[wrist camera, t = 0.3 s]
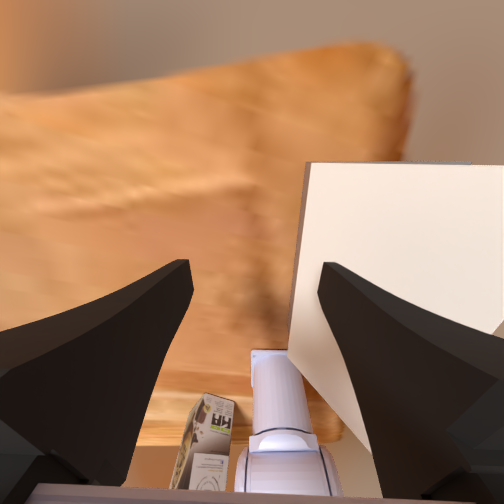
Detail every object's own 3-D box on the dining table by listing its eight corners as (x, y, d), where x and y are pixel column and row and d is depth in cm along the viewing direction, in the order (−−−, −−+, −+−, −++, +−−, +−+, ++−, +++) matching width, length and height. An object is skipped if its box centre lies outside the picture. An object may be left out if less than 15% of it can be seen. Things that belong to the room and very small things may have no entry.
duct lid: (385, 455, 14) (376, 470, 13) (291, 352, 21) (282, 359, 21) (627, 167, 5) (637, 169, 4) (319, 162, 12) (305, 163, 12)
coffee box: (203, 391, 33) (163, 567, 19) (235, 400, 35) (220, 573, 20) (187, 412, 37) (144, 573, 23) (217, 420, 38) (193, 577, 24)
